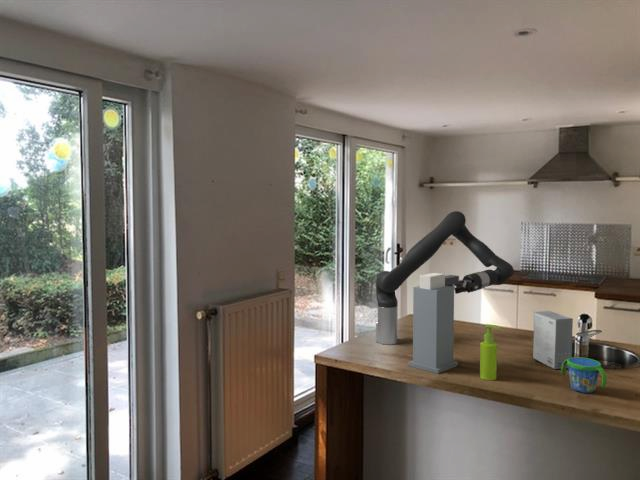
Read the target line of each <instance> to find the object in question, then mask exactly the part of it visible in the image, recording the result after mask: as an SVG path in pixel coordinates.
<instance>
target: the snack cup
mask: <svg viewBox="0 0 640 480" xmlns="http://www.w3.org/2000/svg"><path fill="white" fill-rule="evenodd" d="M566 364H568V366H569V368H568V373H567V368H566ZM560 370H561V371H560V372H561V374H562V375H566V374H569V382H570V388H571V389H572V390H573V391H576V392H580V393H582V394H584V393H585V394H591V393H594V392H595V390H596V388H597V387H596V386H597V383H598V378H599V373H600V375H601V377H602V381H601V385H600V387H601V388H604V387H606V385H607V384H608V383H607V382H608V380H607V379H608V378H607V374H606V371H605V370H604V368H603V367H602V363H601V362H600V361H598V360H595V359H594V358H588V357H582V356H579V357H578V356H574V357H573V356H572V358H569V359H567V360H565V361H564V362H563V364H562V368H561V369H560Z"/></svg>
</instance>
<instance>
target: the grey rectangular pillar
mask: <svg viewBox="0 0 640 480" xmlns="http://www.w3.org/2000/svg"><path fill="white" fill-rule="evenodd" d="M454 287H455V286H454ZM454 287H452V286H445V287H440V288H435V289H431V290H429V289H422V288H420V285H417V286H413V292H412V293H413V294H412V295H413V296H412V297H413V298H412V299H413V300H412V302H413V304H412V305H413V306H412V307H413V308H412V309H413V310H412V312H413V314H412V316H413V317H412V360H410V361H408V363H407V365H408V366H409V367H413V368H416V369H420V370H423V371H427V372H429V373H434V374H436V375H439V374H441V373H443V372H446V371H448V370H450V369H451V370H452V369H453V368H455V367H457V366H459V362H458V361H455V360H454V341H455V340H454V339H455V338H454V336H455V335H454V333H455V330H454V329H455V328H454V327H455V326H454V325H455V323H454V322H455V319H454V318H455V290H454Z"/></svg>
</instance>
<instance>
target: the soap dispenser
mask: <svg viewBox="0 0 640 480" xmlns="http://www.w3.org/2000/svg"><path fill="white" fill-rule="evenodd" d="M484 328H486V331H485V333H484V334H483V341H481V342H480V344H479V346H480V348H479V349H480V350H479V351H480V355H479V359H480V360H479V367H480V368H479V378H480V379H482V380H484V381H485V380H486V381H494V380H495V381H496V380H497V366H498V365H497V363H498V362H497V361H498V360H497V358H498V343H497V342H494V335H495V334H494V333H492V329H496V330H499V329H501V326H499V325H496V324H495V325H494V324H485V325H484Z"/></svg>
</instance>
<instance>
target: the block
mask: <svg viewBox="0 0 640 480" xmlns="http://www.w3.org/2000/svg"><path fill="white" fill-rule="evenodd" d="M459 280H460V275H456V274H455V275H453V274H447V275H446V274H445V273H439V272H432V273H427V274H420V275H419V286H420V288H422V289H429V290H431V289H435V288H440V287H445V286H448V285H452V284H457V283H459Z"/></svg>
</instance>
